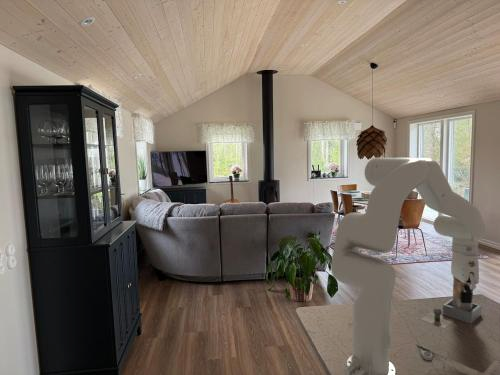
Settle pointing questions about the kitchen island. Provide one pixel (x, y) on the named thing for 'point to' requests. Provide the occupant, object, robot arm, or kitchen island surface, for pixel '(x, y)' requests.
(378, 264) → the robot arm
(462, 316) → the bin
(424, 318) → the stud plate
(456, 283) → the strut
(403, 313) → the kitchen island surface
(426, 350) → the adjustable wrench
